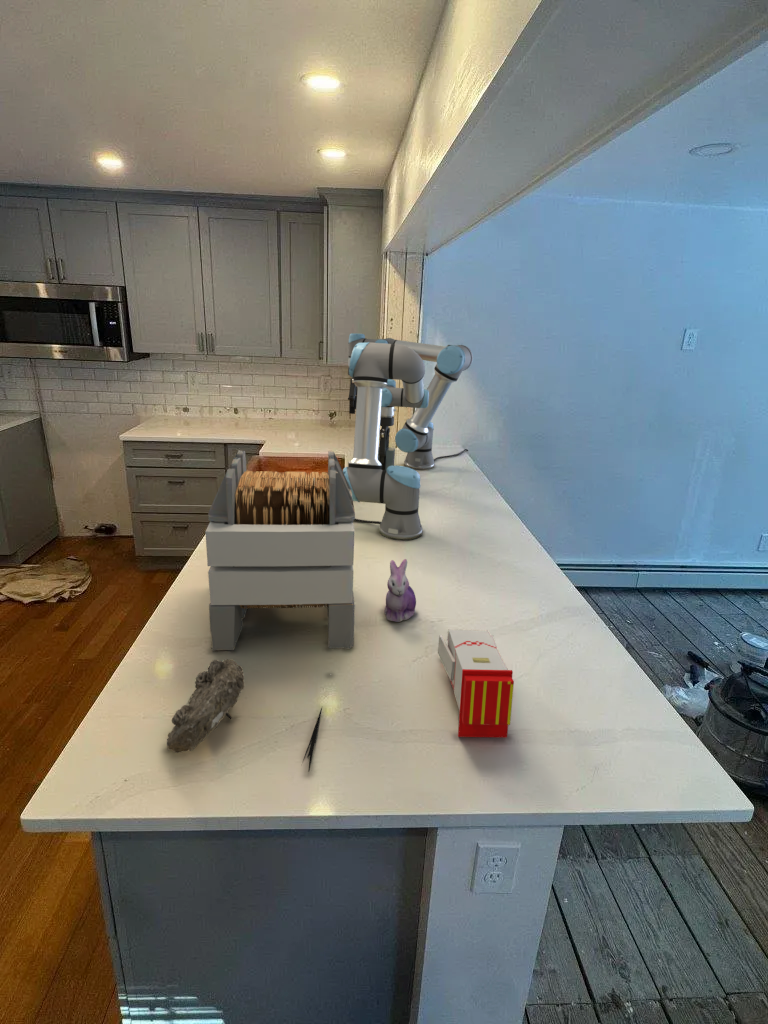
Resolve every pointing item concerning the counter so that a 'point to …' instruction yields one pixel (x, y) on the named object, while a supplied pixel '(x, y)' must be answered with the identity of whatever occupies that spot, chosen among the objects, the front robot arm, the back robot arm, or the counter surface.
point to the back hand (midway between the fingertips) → (354, 411)
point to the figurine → (399, 594)
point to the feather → (313, 740)
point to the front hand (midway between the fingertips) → (383, 468)
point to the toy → (478, 682)
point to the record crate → (281, 548)
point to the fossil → (206, 705)
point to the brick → (389, 457)
